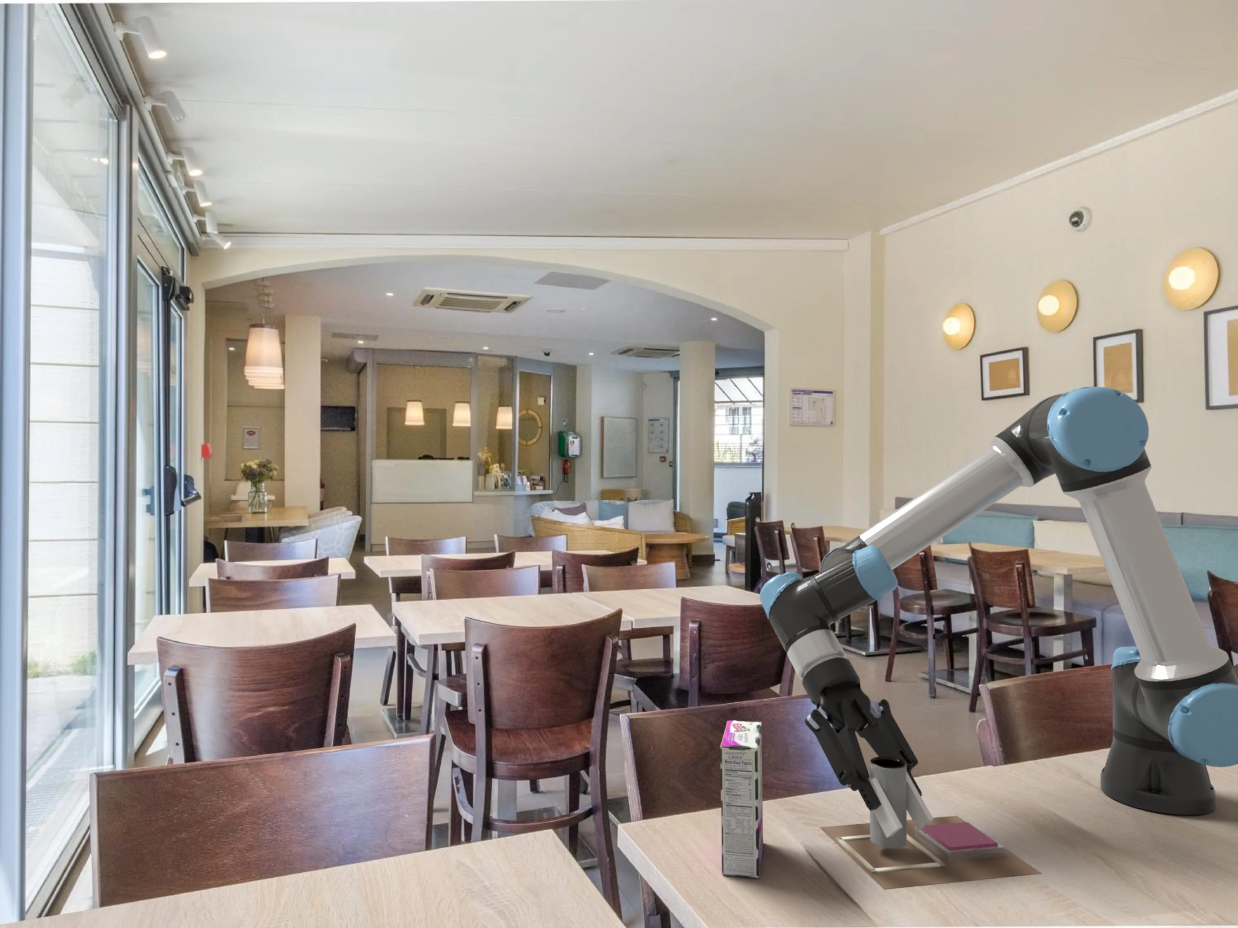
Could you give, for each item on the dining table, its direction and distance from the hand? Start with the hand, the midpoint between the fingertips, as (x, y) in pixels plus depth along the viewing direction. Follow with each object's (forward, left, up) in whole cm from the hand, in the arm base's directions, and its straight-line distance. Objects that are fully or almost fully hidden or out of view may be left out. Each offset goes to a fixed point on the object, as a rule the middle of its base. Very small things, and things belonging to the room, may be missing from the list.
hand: (910, 828), depth 108 cm
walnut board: (-4, -4, -5) cm, 8 cm away
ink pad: (-9, -4, -4) cm, 11 cm away
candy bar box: (+19, -8, -6) cm, 22 cm away
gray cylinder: (+1, -4, -3) cm, 5 cm away
